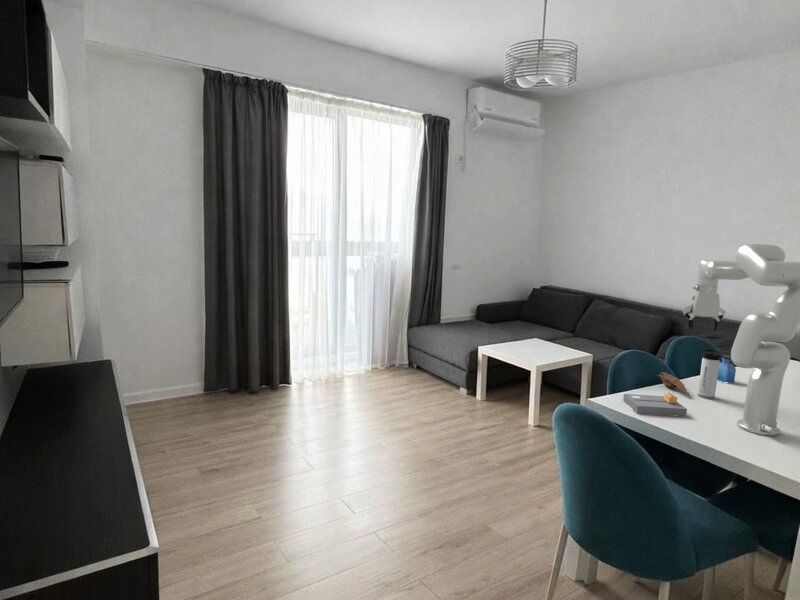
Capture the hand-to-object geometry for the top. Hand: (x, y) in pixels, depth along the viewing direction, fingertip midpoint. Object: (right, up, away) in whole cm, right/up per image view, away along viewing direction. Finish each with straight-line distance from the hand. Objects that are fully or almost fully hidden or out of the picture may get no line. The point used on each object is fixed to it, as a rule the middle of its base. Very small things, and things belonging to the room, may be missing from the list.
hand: (701, 329), depth 214 cm
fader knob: (-24, -27, -19) cm, 40 cm away
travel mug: (+2, -29, 0) cm, 29 cm away
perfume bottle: (+25, -26, +25) cm, 44 cm away
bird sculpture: (-8, -27, +9) cm, 30 cm away
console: (-30, -30, -18) cm, 46 cm away
